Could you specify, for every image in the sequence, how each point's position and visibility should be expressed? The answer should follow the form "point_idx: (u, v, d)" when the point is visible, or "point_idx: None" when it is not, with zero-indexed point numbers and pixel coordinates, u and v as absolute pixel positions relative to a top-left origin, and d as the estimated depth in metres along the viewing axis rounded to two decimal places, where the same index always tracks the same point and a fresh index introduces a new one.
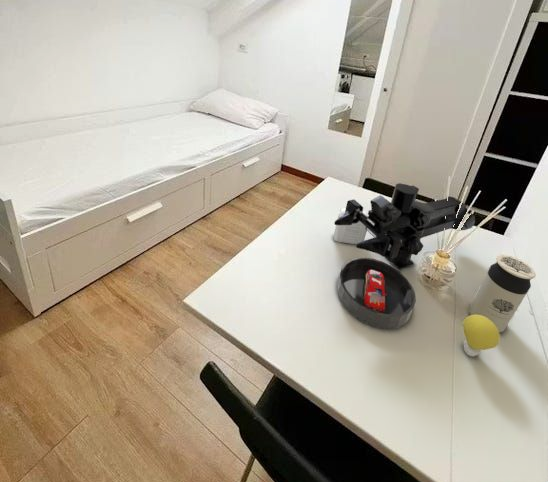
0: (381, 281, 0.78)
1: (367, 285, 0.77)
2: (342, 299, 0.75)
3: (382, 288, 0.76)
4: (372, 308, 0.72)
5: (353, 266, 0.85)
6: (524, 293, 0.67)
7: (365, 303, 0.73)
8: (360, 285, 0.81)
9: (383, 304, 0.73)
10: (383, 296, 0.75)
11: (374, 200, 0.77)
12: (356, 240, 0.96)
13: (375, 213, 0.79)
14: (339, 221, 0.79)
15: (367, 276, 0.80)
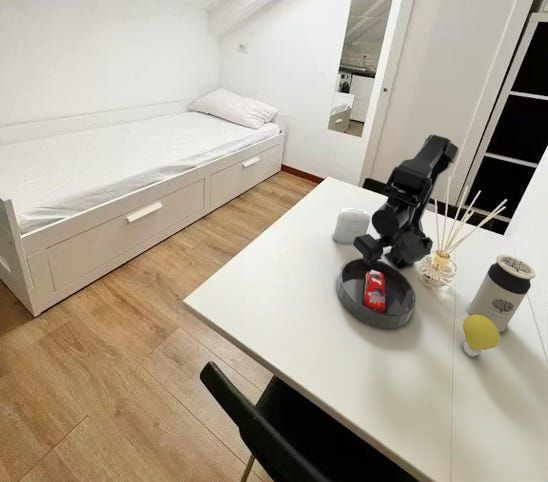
0: (381, 281, 0.78)
1: (367, 285, 0.77)
2: (342, 299, 0.75)
3: (382, 288, 0.76)
4: (372, 308, 0.72)
5: (353, 266, 0.85)
6: (524, 293, 0.67)
7: (365, 303, 0.73)
8: (360, 285, 0.81)
9: (383, 304, 0.73)
10: (383, 296, 0.75)
11: (412, 262, 0.64)
12: None
13: None
14: None
15: (367, 276, 0.80)
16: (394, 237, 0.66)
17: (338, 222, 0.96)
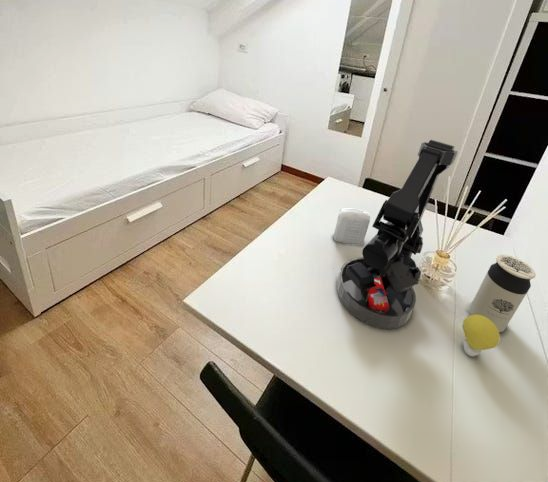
0: (380, 280, 0.78)
1: None
2: (342, 299, 0.75)
3: (382, 287, 0.76)
4: (378, 310, 0.72)
5: None
6: (524, 293, 0.67)
7: (370, 306, 0.73)
8: None
9: (387, 304, 0.73)
10: (385, 295, 0.75)
11: (401, 291, 0.68)
12: (356, 240, 0.96)
13: None
14: None
15: None
16: (384, 267, 0.70)
17: (338, 222, 0.96)
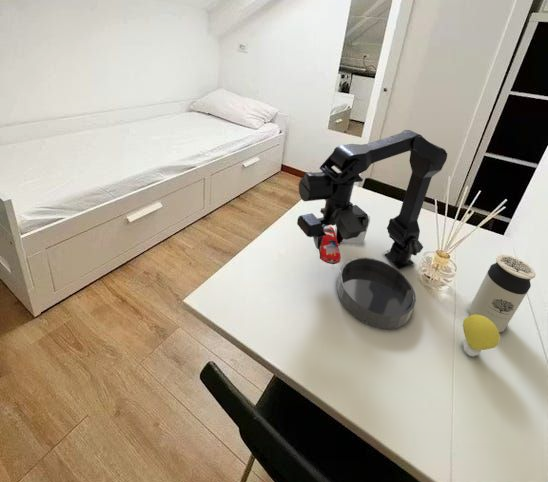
0: (333, 233, 0.79)
1: None
2: (342, 299, 0.75)
3: (335, 239, 0.77)
4: (329, 259, 0.72)
5: (353, 266, 0.85)
6: (524, 293, 0.67)
7: (322, 256, 0.73)
8: (360, 285, 0.81)
9: (339, 254, 0.74)
10: (337, 247, 0.76)
11: (348, 238, 0.68)
12: (356, 240, 0.96)
13: None
14: None
15: None
16: (333, 215, 0.70)
17: None
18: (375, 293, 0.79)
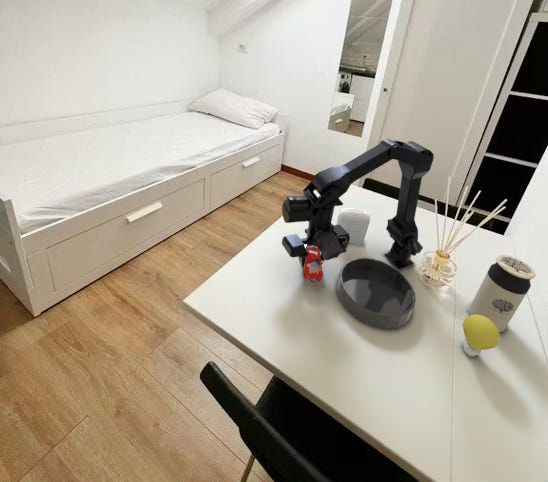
0: (317, 252, 0.83)
1: None
2: (342, 299, 0.75)
3: (319, 258, 0.81)
4: (312, 278, 0.77)
5: (353, 266, 0.85)
6: (524, 293, 0.67)
7: (305, 274, 0.78)
8: (360, 285, 0.81)
9: (321, 272, 0.78)
10: (320, 265, 0.80)
11: (328, 258, 0.73)
12: (356, 240, 0.96)
13: None
14: None
15: None
16: (315, 237, 0.75)
17: (338, 222, 0.96)
18: (375, 293, 0.79)
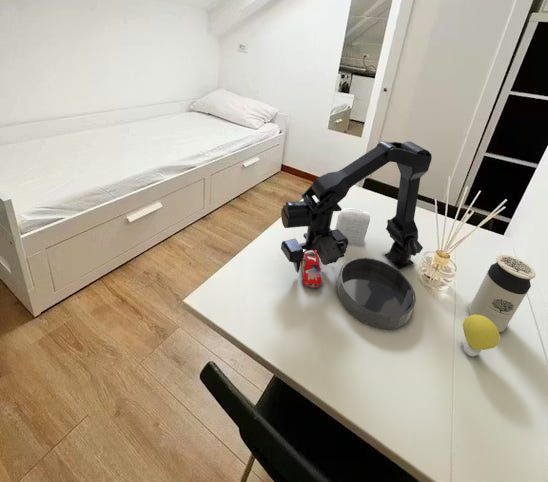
0: (316, 258, 0.84)
1: (304, 264, 0.82)
2: (342, 299, 0.75)
3: (317, 264, 0.82)
4: (311, 284, 0.78)
5: (353, 266, 0.85)
6: (524, 293, 0.67)
7: (304, 281, 0.79)
8: (360, 285, 0.81)
9: (320, 278, 0.79)
10: (319, 271, 0.81)
11: (327, 263, 0.73)
12: (356, 240, 0.96)
13: None
14: None
15: None
16: (314, 242, 0.75)
17: (338, 222, 0.96)
18: (375, 293, 0.79)
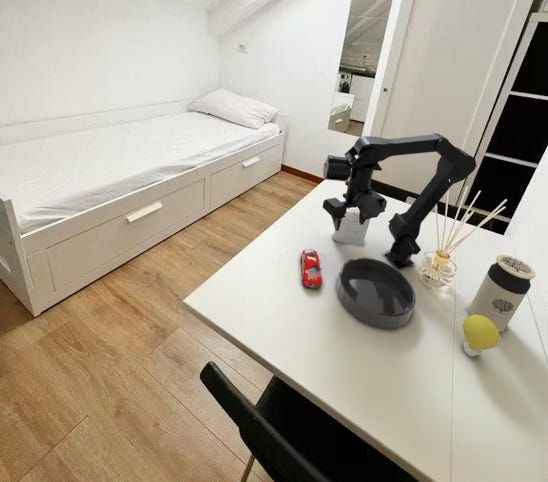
0: (316, 258, 0.84)
1: (304, 264, 0.82)
2: (342, 299, 0.75)
3: (317, 264, 0.82)
4: (311, 284, 0.78)
5: (353, 266, 0.85)
6: (524, 293, 0.67)
7: (304, 281, 0.79)
8: (360, 285, 0.81)
9: (320, 278, 0.79)
10: (319, 271, 0.81)
11: (369, 218, 0.77)
12: (356, 240, 0.96)
13: None
14: None
15: (303, 256, 0.86)
16: (355, 198, 0.80)
17: None
18: (375, 293, 0.79)
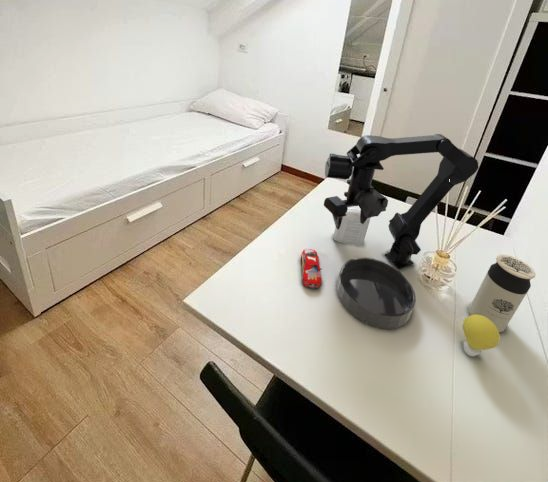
0: (315, 258, 0.84)
1: (304, 264, 0.82)
2: (342, 299, 0.75)
3: (317, 264, 0.82)
4: (311, 284, 0.78)
5: (353, 266, 0.85)
6: (524, 293, 0.67)
7: (304, 281, 0.79)
8: (360, 285, 0.81)
9: (320, 278, 0.79)
10: (319, 271, 0.81)
11: (370, 216, 0.78)
12: (356, 240, 0.96)
13: None
14: None
15: (303, 256, 0.86)
16: (356, 197, 0.80)
17: None
18: (375, 293, 0.79)
